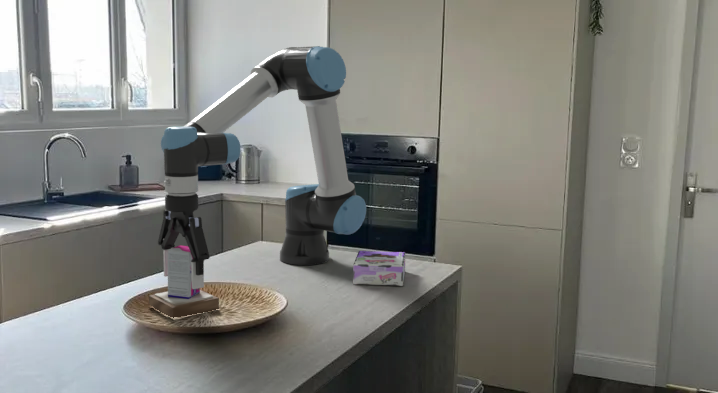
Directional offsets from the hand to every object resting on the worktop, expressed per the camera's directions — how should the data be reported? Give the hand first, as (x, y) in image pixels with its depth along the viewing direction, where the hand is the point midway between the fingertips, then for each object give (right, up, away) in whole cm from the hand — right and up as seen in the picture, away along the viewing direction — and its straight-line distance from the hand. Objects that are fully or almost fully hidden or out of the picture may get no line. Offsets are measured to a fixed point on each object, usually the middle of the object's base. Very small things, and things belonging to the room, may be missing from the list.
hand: (183, 281), depth 170 cm
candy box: (+48, +2, +39) cm, 62 cm away
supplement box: (0, -3, +1) cm, 4 cm away
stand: (0, -7, +1) cm, 7 cm away
